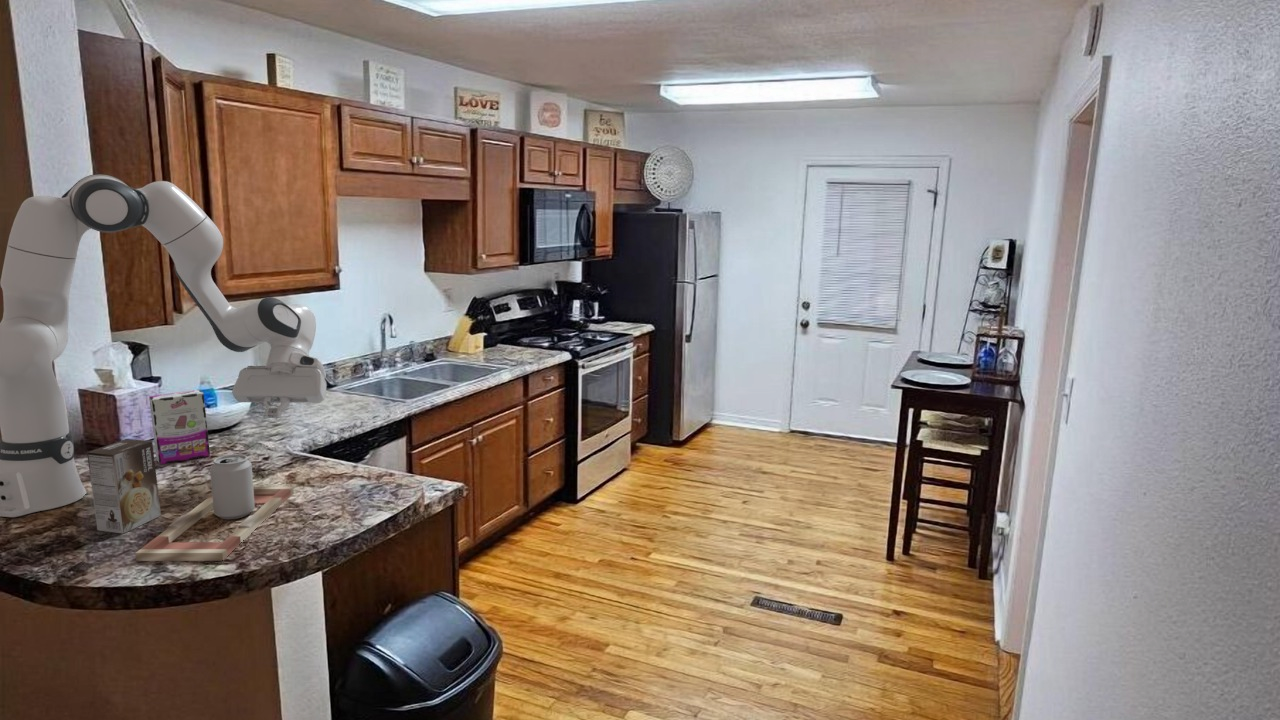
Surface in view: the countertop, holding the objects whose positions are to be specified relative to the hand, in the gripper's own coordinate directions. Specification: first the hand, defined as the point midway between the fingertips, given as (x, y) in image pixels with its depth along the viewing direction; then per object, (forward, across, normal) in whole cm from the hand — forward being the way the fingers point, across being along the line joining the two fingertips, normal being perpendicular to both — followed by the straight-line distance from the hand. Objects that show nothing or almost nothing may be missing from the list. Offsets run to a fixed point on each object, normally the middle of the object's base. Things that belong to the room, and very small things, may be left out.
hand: (272, 416), depth 176 cm
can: (+26, 0, -5) cm, 26 cm away
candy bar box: (+1, -28, +20) cm, 35 cm away
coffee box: (+29, -18, -8) cm, 35 cm away
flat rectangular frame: (+29, 0, -8) cm, 30 cm away
